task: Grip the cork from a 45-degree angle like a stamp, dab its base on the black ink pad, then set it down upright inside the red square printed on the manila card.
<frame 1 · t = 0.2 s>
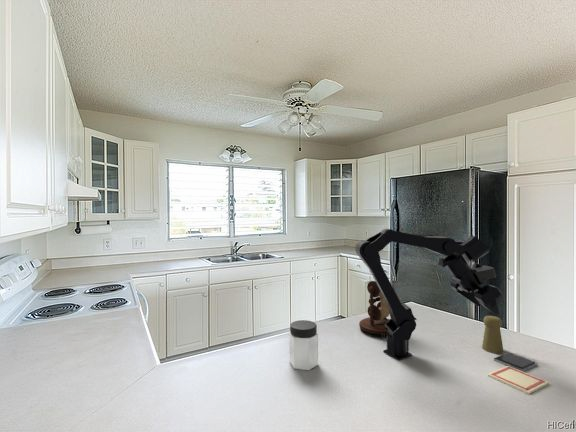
hand: (488, 309, 100), 14 cm above the table, tool tilted 35°, fingers open, 9 cm apart
brown wooden figurine: (378, 331, 120), on the table
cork: (492, 350, 103), on the table
jar: (303, 364, 95), on the table
print card: (517, 379, 84), on the table
ink pad: (515, 362, 94), on the table
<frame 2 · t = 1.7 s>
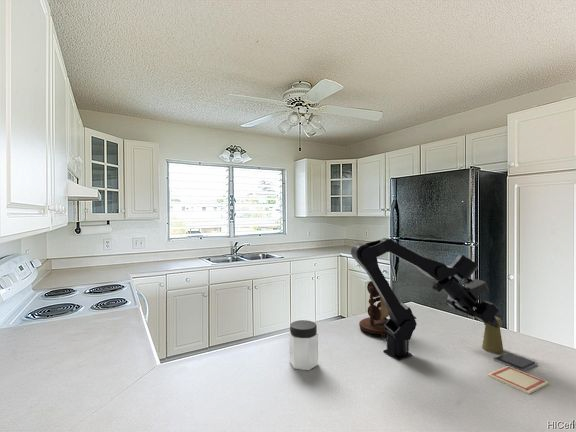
hand: (487, 321, 103), 9 cm above the table, tool tilted 45°, fingers open, 9 cm apart
nothing on the table moved.
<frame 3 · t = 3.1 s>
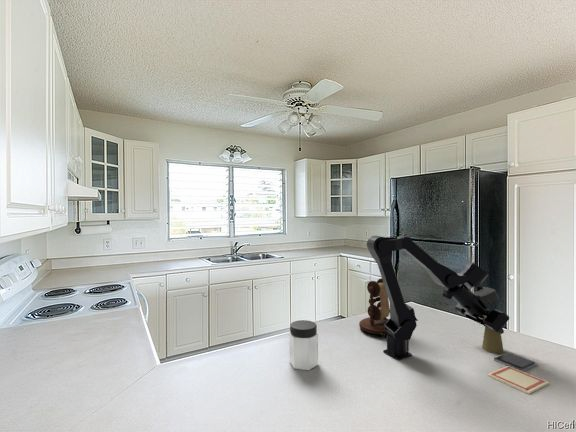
hand: (496, 329, 103), 7 cm above the table, tool tilted 45°, fingers closed on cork, 5 cm apart
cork: (492, 350, 103), on the table, touching gripper
everything else where it was.
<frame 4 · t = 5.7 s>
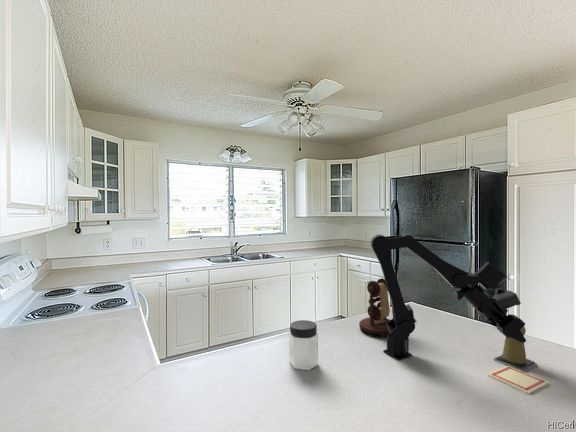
hand: (519, 338, 94), 8 cm above the table, tool tilted 45°, fingers closed on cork, 5 cm apart
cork: (514, 359, 94), point 1 cm above the table, touching gripper, ink pad
everything else where it was.
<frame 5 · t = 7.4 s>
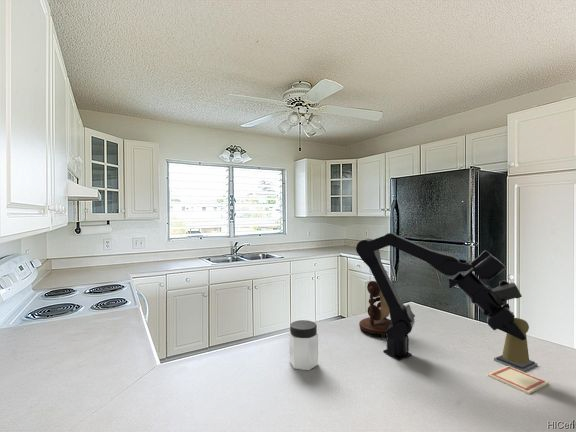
hand: (522, 335, 84), 12 cm above the table, tool tilted 45°, fingers closed on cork, 5 cm apart
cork: (515, 359, 85), point 5 cm above the table, touching gripper
everything else where it was.
when the fingers open (8 cm above the table, at t = 8.6 s): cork stays where it is, resting on print card.
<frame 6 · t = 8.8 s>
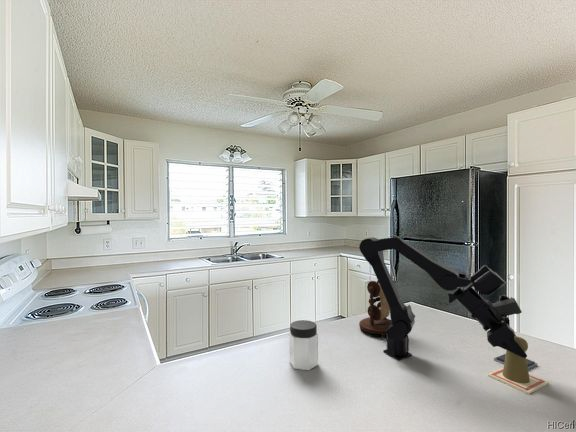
hand: (523, 351, 84), 8 cm above the table, tool tilted 45°, fingers open, 7 cm apart
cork: (515, 378, 85), resting on print card
everything else where it was.
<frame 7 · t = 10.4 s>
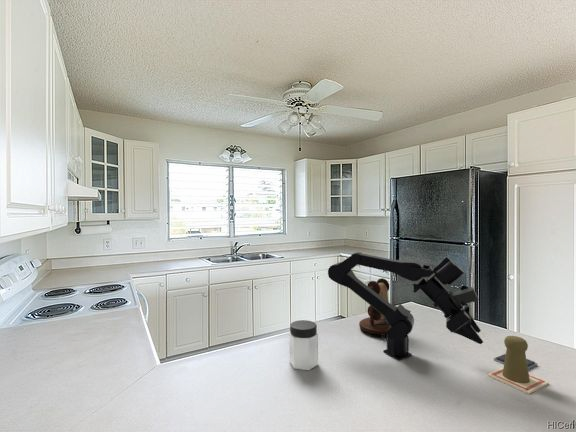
hand: (480, 337, 89), 10 cm above the table, tool tilted 45°, fingers open, 9 cm apart
nothing on the table moved.
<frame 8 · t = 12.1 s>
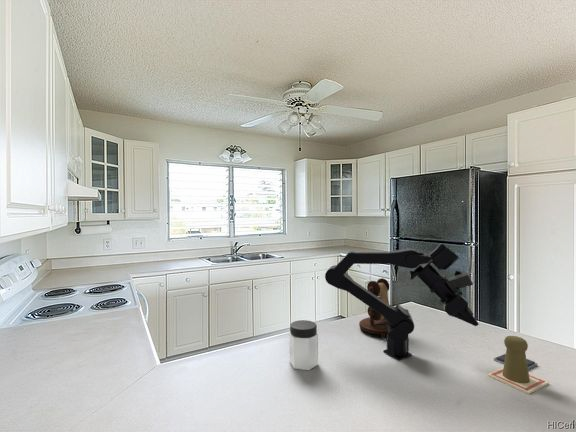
hand: (474, 320, 93), 14 cm above the table, tool tilted 45°, fingers open, 9 cm apart
nothing on the table moved.
at the end: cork inside the target area on the print card (0.3 cm from its centre), point 0.3 cm above the print card's base; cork tilted 0°; the gripper is holding nothing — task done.
